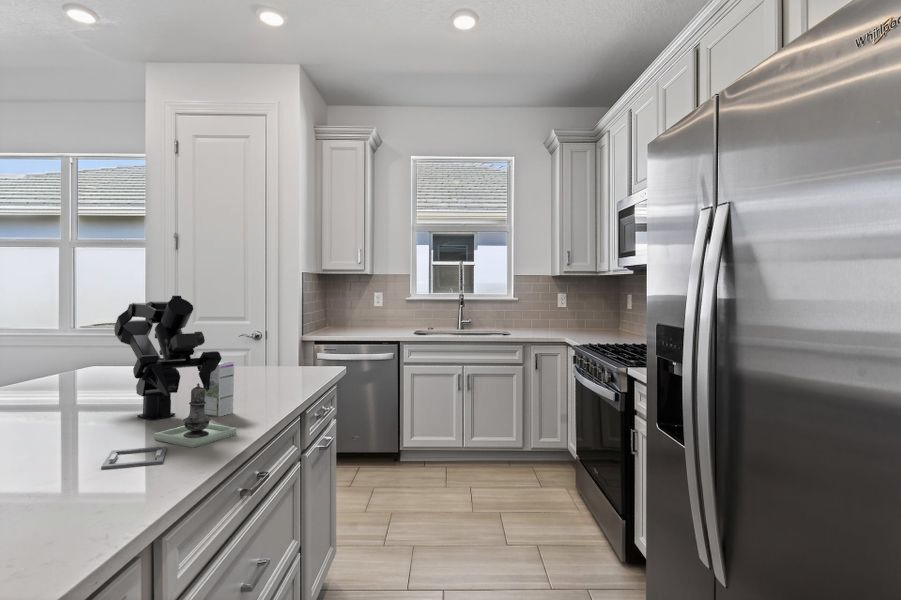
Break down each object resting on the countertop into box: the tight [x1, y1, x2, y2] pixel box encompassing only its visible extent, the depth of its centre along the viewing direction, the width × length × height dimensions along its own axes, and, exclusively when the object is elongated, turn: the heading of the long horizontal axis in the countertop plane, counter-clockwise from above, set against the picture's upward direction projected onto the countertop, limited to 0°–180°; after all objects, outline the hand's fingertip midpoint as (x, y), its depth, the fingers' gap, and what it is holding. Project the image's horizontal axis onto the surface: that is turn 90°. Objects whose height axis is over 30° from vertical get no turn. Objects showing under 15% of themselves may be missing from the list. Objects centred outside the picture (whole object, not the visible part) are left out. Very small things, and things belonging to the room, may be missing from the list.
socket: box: [100, 445, 168, 470], centre depth 101 cm, size 10×10×1 cm
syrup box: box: [202, 360, 235, 418], centre depth 138 cm, size 6×6×14 cm
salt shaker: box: [182, 382, 212, 438], centre depth 116 cm, size 6×6×12 cm
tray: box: [154, 422, 237, 448], centre depth 116 cm, size 12×12×2 cm
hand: (188, 392), depth 120 cm, fingers open, 9 cm apart
